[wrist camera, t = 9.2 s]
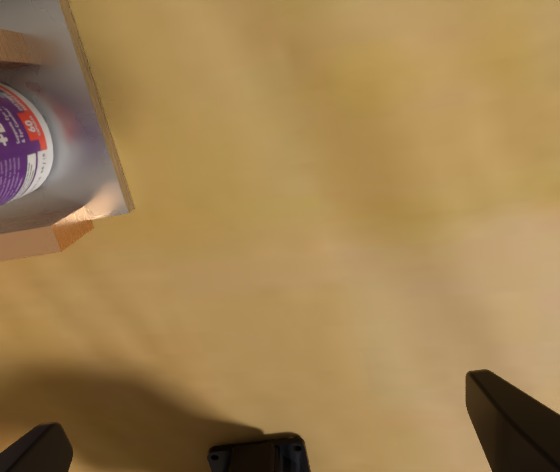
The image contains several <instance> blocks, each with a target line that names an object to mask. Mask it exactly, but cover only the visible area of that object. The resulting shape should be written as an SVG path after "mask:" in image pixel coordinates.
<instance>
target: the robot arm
mask: <svg viewBox="0 0 560 472" xmlns="http://www.w3.org/2000/svg"><path fill="white" fill-rule="evenodd" d="M466 407H467V411H468V414H469V416H470V419H471V421H472V424H473V426H474V428H475V431H476V433H477V436H478V438H479V441H480V443H481V445H482V448H483V450H484V453H485V455H486V458H487V460H488V462H489V465H490V467H491V470H492V472H560V415H559V414H558V413H556V412H555V411H553V410H551V409H550V408H548V407H547V406H545V405H544V404H542V403H540V402H539V401H537V400H536V399H534V398H532V397H531V396H529V395H528V394H526V393H525V392H523V391H521V390H520V389H518V388H517V387H515V386H513V385H512V384H510V383H509V382H507V381H506V380H504V379H502V378H501V377H499V376H498V375H496V374H494V373H493V372H491V371H489V370H487V369H482V370H474V371H469V372H467V374H466ZM72 457H73V449H72V446H71V444H70V442H69V440H68V438H67V436H66V434H65V432H64V430H63V428H62V426H61V424H59V423H57V422H52V423H44V424H40V425H37V426H36V427H34V428H33V429H32V430H30V431H29V432H28V433H26V434H25V435H24V436H22V437H21V438H20V439H18V440H17V441H16V442H15V443H13V444H12V445H11V446H9V447H8V448H7V449H5V450H4V451H3V452H1V453H0V472H68V470H69V467H70V464H71V461H72ZM207 458H208V461H209V464H210V467H211V470H212V472H311V470H310V465H309V461H308V456H307V451H306V446H305V442H304V440H303V439H302V438H287V439H279V440H270V441H261V442H252V443H244V444H235V445H226V446H218V447H212V448H210V449H209V451H208V456H207Z"/></svg>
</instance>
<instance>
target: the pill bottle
mask: <svg viewBox="0 0 560 472" xmlns="http://www.w3.org/2000/svg"><path fill="white" fill-rule="evenodd" d="M52 163H53V143H52V138H51V135H50V132H49V129H48V126H47V124H46V122H45V120H44V119H43V117H42V115H41V114H40V113H39V111H38V110H37V109H36V108H35V106H34V105H33V104H32V103H31V102H30V101H29V100H28V99H26V98H25V97H24V96H23V95H22V94H20V93H19V92H17V91H16V90H14V89H12V88H11V87H9V86H6V85H4V84H2V83H0V206H1V205H4V204H6V203H8V202H11V201H14V200H16V199H18V198H21V197H23V196H25V195H27V194H29V193H31V192H33V191H34V190H36V189H37V188H38V187H39V186H40V185H41V184H42V183H43V182H44V181H45V180H46V178H47V176H48V175H49V172H50V170H51V167H52Z"/></svg>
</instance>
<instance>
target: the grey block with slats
mask: <svg viewBox="0 0 560 472" xmlns="http://www.w3.org/2000/svg"><path fill="white" fill-rule="evenodd" d="M0 83H2V84H4V85H6V86H9V87H11V88H12V89H14V90H16V91H17V92H19V93H20V94H22V95H23V96H24V97H25V98H26V99H28V100H29V101H30V102H31V103H32V104H33V105H34V106H35V108H36V109H37V110H38V111H39V113H40V114H41V115H42V117H43V119H44V120H45V122H46V124H47V126H48V129H49V132H50V135H51V138H52V143H53V163H52V167H51V170H50V172H49V175H48V176H47V178H46V180H45V181H44V182H43V183H42V184H41V185H40V186H39V187H38V188H37V189H36V190H34V191H33V192H31V193H29V194H27V195H25V196H23V197H21V198H18V199H16V200H14V201H11V202H8V203H6V204H4V205H1V206H0V261H6V260H13V259H19V258H25V257H31V256H37V255H44V254H50V253H56V252H62V251H63V250H64V249H66V248H67V247H68V246H70V245H71V244H72V243H74V242H75V241H77V240H78V239H79V238H81V237H82V236H83V235H85V234H86V233H87V232H89V231H90V230H92V229H93V228H94V227H93V225H92V222H91V219H97V218H103V217H109V216H115V215H121V214H127V213H130V212H131V211H132V210H133V209H135V208H134V205H133V202H132V199H131V195H130V192H129V189H128V186H127V183H126V180H125V177H124V174H123V171H122V168H121V164H120V161H119V158H118V155H117V152H116V149H115V146H114V143H113V140H112V137H111V134H110V130H109V127H108V124H107V121H106V118H105V115H104V112H103V109H102V106H101V103H100V100H99V96H98V93H97V90H96V87H95V84H94V81H93V78H92V75H91V72H90V69H89V66H88V62H87V59H86V56H85V53H84V50H83V47H82V44H81V41H80V38H79V35H78V31H77V28H76V25H75V22H74V19H73V16H72V13H71V10H70V7H69V4H68V1H67V0H0Z"/></svg>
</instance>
